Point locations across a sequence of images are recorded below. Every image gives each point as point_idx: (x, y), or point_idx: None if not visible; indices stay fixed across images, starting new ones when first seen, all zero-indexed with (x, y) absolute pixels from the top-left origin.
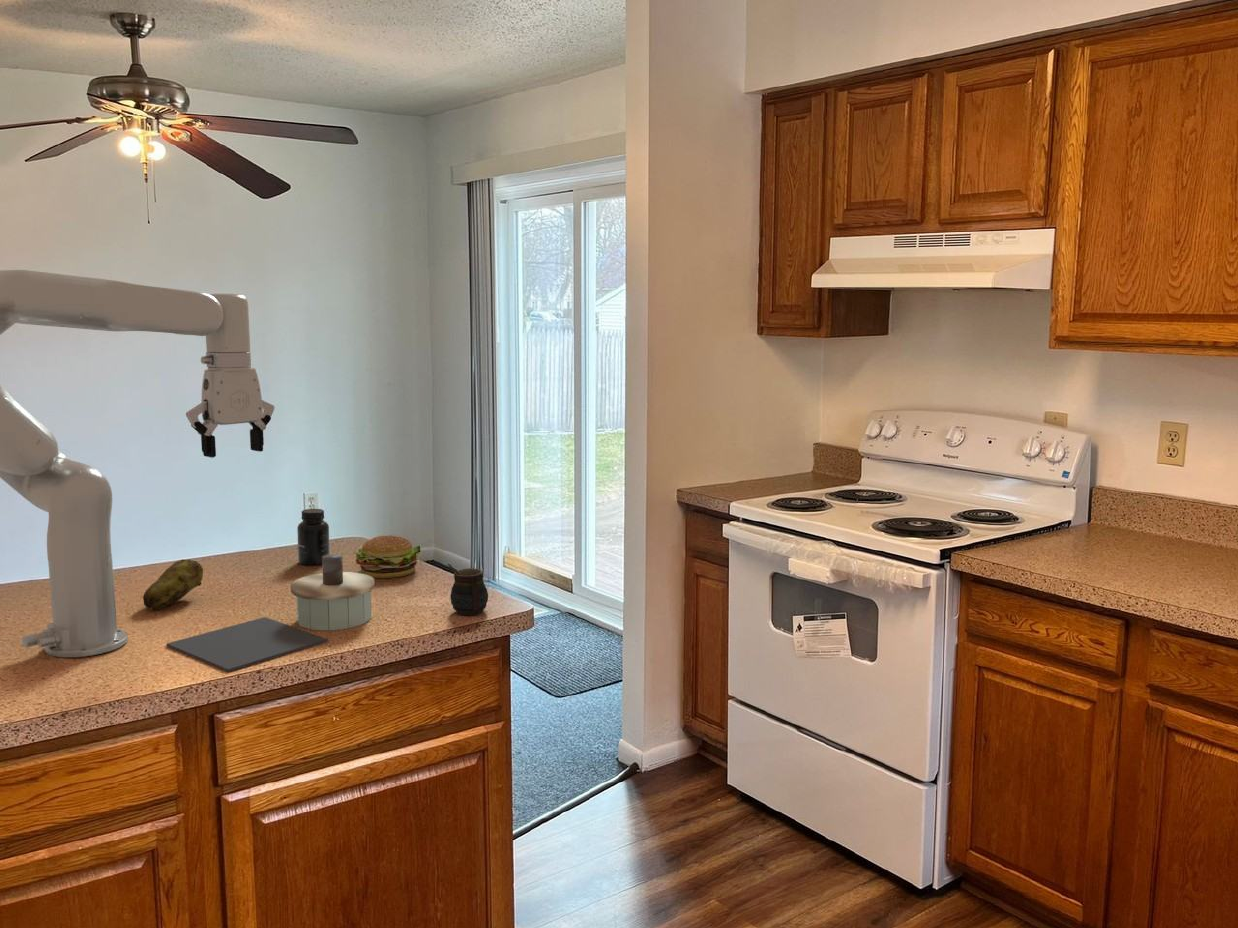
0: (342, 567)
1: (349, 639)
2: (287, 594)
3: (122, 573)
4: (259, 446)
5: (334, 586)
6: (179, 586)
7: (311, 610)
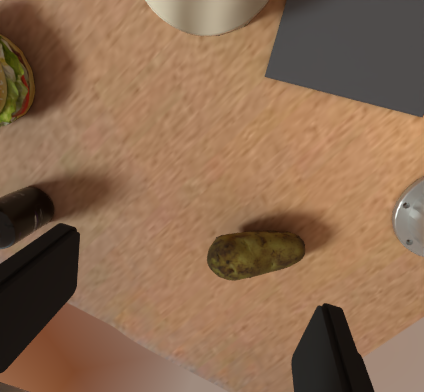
0: None
1: None
2: (157, 135)
3: (191, 358)
4: (64, 240)
5: None
6: (268, 234)
7: None
